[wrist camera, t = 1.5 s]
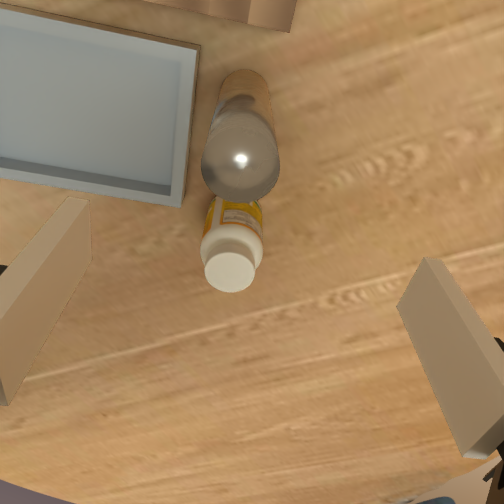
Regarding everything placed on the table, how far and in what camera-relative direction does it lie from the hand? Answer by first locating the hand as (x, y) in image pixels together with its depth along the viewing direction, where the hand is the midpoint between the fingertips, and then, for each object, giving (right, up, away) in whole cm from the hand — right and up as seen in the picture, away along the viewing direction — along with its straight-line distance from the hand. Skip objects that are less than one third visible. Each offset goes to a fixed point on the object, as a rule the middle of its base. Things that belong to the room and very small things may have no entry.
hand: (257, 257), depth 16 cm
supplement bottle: (-2, +4, +23) cm, 24 cm away
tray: (-14, +12, +17) cm, 25 cm away
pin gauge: (-1, +13, +17) cm, 21 cm away
